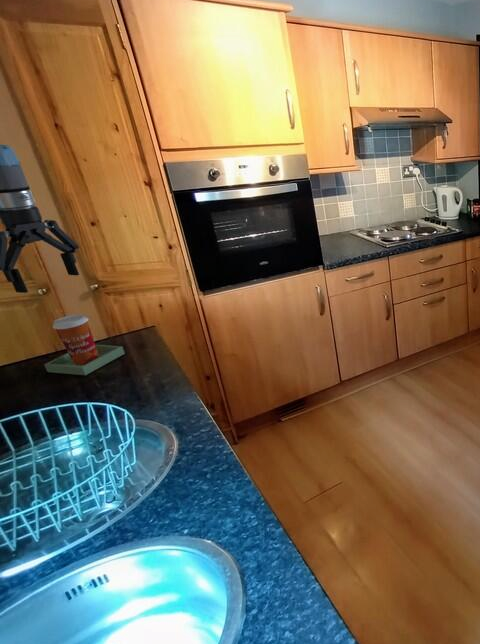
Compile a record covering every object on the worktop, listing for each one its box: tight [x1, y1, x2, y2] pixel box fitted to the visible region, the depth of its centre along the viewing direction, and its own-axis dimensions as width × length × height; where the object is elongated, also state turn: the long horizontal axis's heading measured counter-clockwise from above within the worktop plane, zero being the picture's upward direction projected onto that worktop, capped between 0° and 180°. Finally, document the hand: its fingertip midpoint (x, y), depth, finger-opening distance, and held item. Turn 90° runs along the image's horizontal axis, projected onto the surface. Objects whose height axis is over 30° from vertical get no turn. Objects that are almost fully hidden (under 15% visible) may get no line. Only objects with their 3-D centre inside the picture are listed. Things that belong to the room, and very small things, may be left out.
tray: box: [43, 343, 126, 376], centre depth 136 cm, size 13×13×3 cm
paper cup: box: [52, 313, 99, 365], centre depth 134 cm, size 8×8×14 cm
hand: (49, 283), depth 126 cm, fingers open, 13 cm apart
